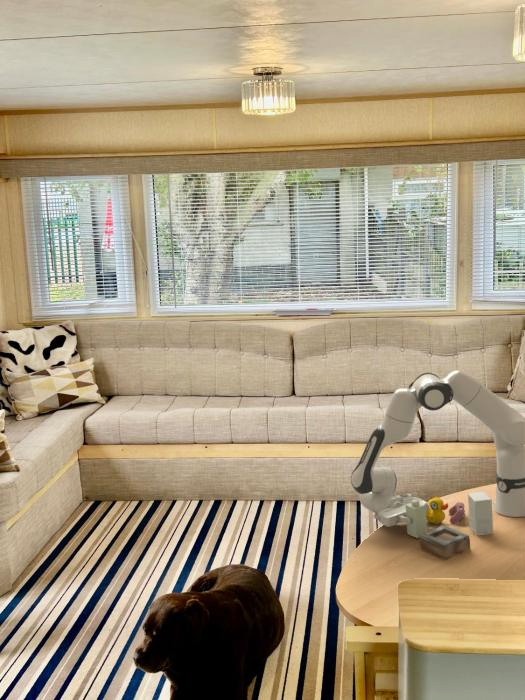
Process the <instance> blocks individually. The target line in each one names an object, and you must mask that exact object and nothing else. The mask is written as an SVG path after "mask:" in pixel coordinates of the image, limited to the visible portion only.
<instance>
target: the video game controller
mask: <svg viewBox="0 0 525 700" xmlns="http://www.w3.org/2000/svg"><path fill="white" fill-rule="evenodd" d="M448 514H450V515H452V516H451V517H450V519H449V522H450V524H456V523H458V522H460V520H462V519H463V518H464V517H465V516H466V515H467V514H466V510H465V503H463V502H460V501H458V502H456V503H455V504H454V505H453V506H452V507H451V508H449V509H448Z"/></svg>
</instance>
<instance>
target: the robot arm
mask: <svg viewBox="0 0 525 700" xmlns="http://www.w3.org/2000/svg"><path fill="white" fill-rule="evenodd" d="M452 400H453V401H454V402H456V403H457V404H458V405H460V407H462V408H463V409H465V410H466V411H467V412H468V413H470V414H471V415H472V416H474V417H475V418H476V419H478V421H480V422H481V423H482V424H483V425H485V427H487V428H489V430H491V431H492V436H493V443H494V448H495V453H496V455H495V456H496V472H497V473H496V475H495V479H496V487H495V500H493V505H494V511H495V512H496V513H498V514H499V515H501V516H505V517H511V518H512V517H514V518H515V517H517V518H519V517H520V518H521V517H525V416H523V415H522V414H521V413H520V412H519V411H518V410H516V409H515V408H514V407H511V406H510V405H509V404H508V403H506V402H505V400H503V399H501V398H500V397H499V396H498V395H497V394H495V392H493V391H491V389H489V388H488V387H486V386H485V385H484V384H483V383H481V382H480V381H478V380H477V378H475V377H473V376H471V375H469V374H468V373H466V372H464V371H461V370H458V369H457V370H456V369H455V370H452V371H451V372H449V373H448V374H447V375H446V376H445V377H443V378H440V376H438V375H436V374H434V373H432V372H424V373H421V374H420V375H418V376H417V377H416V378H415V380H413V382H411V383H410V384H409V386H408V388H407V387H406V388H405V387H402V388H397V389H396V390H394V392H393V394H392V395H391V398H390V400H389V402H388V404H387V408H386V410H385V414H384V416H383V417H382V418H383V419H382V420H381V422H380V423H379V425H378V426H377V428H375V429H374V430H373V431H372V433H371V435H370V436H369V439H368V441H367V443H366V445H365V448H364V449H363V450H364V451H363V452H362V454H361V456H360V459H359V462H358V464H357V465H356V467H355V468H354V469H353V471H352V473H351V477H350V483H351V486H352V488H353V489H354V491H356V493H358V494H359V501H360V503H361V505H362V506H363V507H364V508H365V509H366V510H368V511H370V512H372V513H374V515H373V519H375V520H377V521H378V522H379V523H380V524H382V525H383V526H385V527H392V526H395V525H398V524H401V523H402V524H403V523H406V524H407V523H408V524H410V523H413V519H412V518H410V517H408V518H407V517H406V505H407V504H410V503H411V501H412V500H419V503H422V504H424V505H426V512H428V505H429V503H428V502H427V501H426V500H424V499H421V498H420V497H419V498H418V497H415V496H413V497H412V494H410V493H406V494H399V495H398V494H395V491H396V489H397V488H396V487H397V482H398V478H397V475H396V473H395V471H394V470H393V469H392V468H391V467H390V466H376V464H377V461H378V459H379V457H380V454H381V453H382V451H383V450H385V448H386V447H389V446H390V445H392V444H394V443H397V442H400V441H402V440H405V439H407V437H408V436H409V435H410V433H411V431H412V430H413V426H414V423H415V419H416V416H417V413H418V411H419V409H421V407H423V408H424V409H426V410H429V411H432V412H433V411H439V410H441V409H442V408H443V407H444V406H446V405H447V404H449V403H450V402H452Z"/></svg>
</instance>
